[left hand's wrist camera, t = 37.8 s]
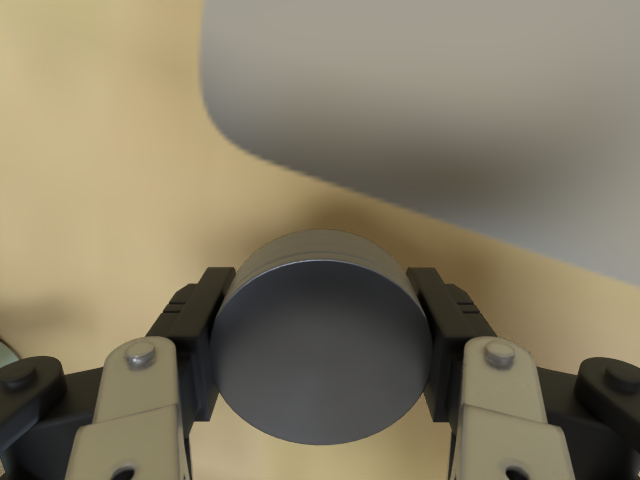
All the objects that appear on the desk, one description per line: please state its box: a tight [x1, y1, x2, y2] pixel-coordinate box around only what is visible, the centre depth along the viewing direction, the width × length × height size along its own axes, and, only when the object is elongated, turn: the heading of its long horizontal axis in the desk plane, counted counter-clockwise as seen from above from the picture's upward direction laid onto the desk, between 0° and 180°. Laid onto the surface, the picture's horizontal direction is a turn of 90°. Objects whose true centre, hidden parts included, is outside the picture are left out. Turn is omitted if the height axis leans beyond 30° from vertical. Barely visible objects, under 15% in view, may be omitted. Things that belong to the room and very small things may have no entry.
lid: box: [209, 229, 433, 445], centre depth 10 cm, size 5×5×2 cm
